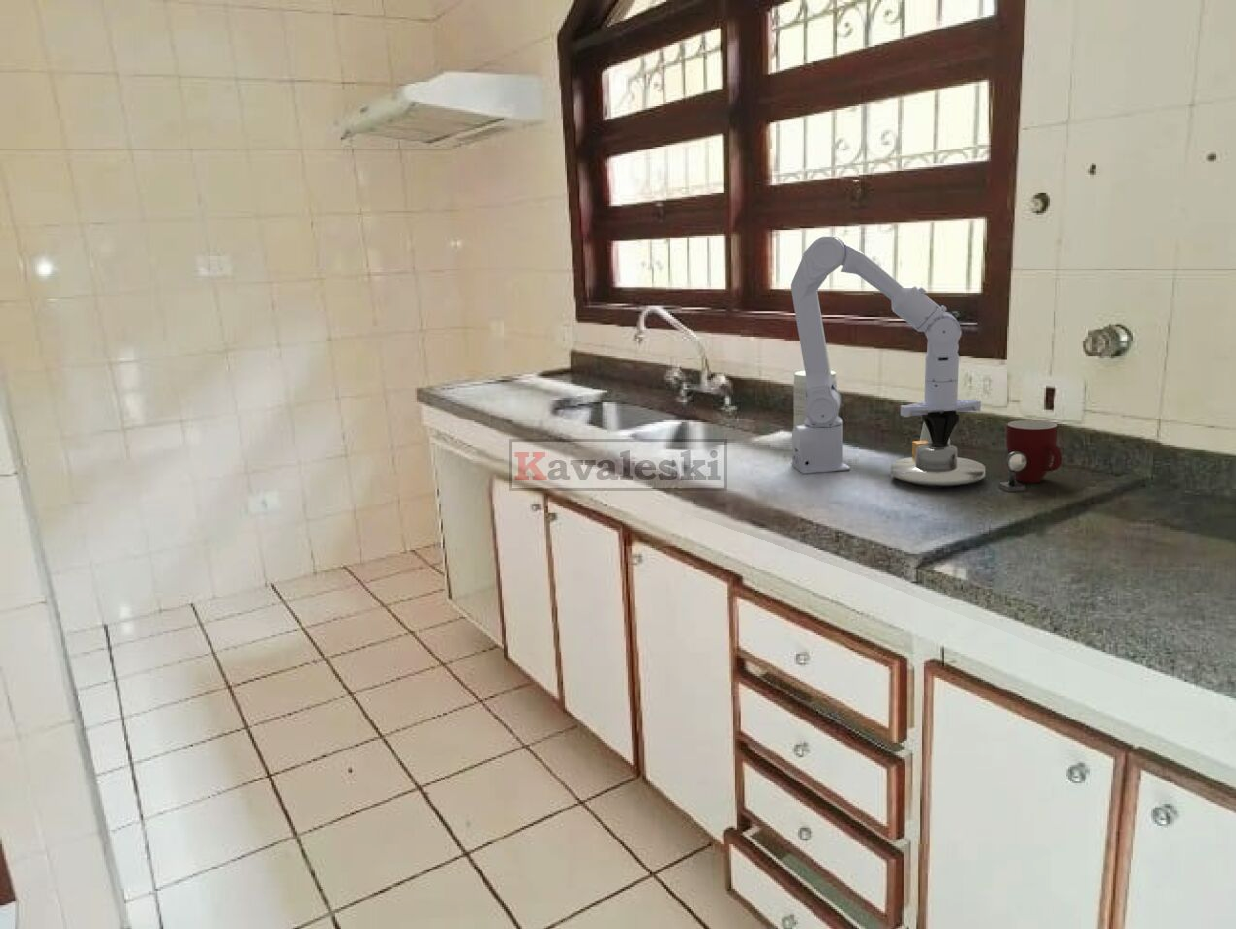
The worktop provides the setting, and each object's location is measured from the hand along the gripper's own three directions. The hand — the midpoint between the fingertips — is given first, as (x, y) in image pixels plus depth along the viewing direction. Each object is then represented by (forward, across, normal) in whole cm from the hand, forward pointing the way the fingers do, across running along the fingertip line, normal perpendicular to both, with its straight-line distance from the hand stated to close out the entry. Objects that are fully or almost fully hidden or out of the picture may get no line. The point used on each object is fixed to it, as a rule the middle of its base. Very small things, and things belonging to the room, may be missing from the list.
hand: (939, 451), depth 158 cm
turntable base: (+3, -4, -7) cm, 8 cm away
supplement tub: (+4, -12, +35) cm, 38 cm away
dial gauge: (+3, +5, -16) cm, 17 cm away
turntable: (+2, -4, -7) cm, 8 cm away
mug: (+4, +11, -13) cm, 18 cm away
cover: (+1, -4, -7) cm, 8 cm away
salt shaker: (+4, +4, +11) cm, 13 cm away
